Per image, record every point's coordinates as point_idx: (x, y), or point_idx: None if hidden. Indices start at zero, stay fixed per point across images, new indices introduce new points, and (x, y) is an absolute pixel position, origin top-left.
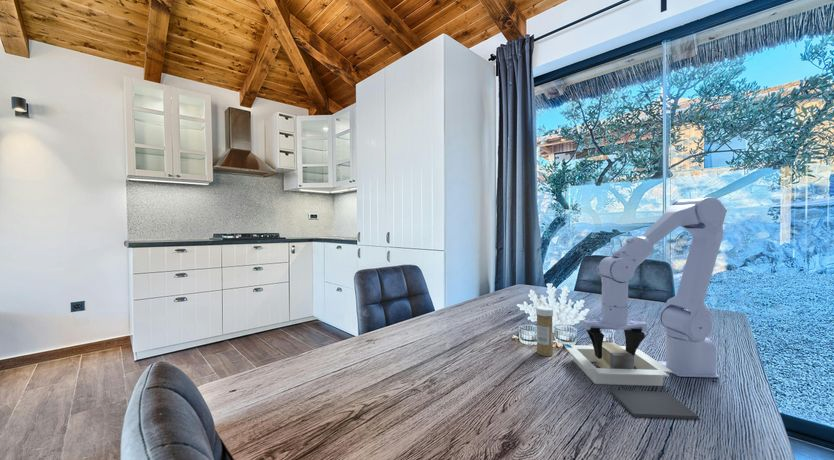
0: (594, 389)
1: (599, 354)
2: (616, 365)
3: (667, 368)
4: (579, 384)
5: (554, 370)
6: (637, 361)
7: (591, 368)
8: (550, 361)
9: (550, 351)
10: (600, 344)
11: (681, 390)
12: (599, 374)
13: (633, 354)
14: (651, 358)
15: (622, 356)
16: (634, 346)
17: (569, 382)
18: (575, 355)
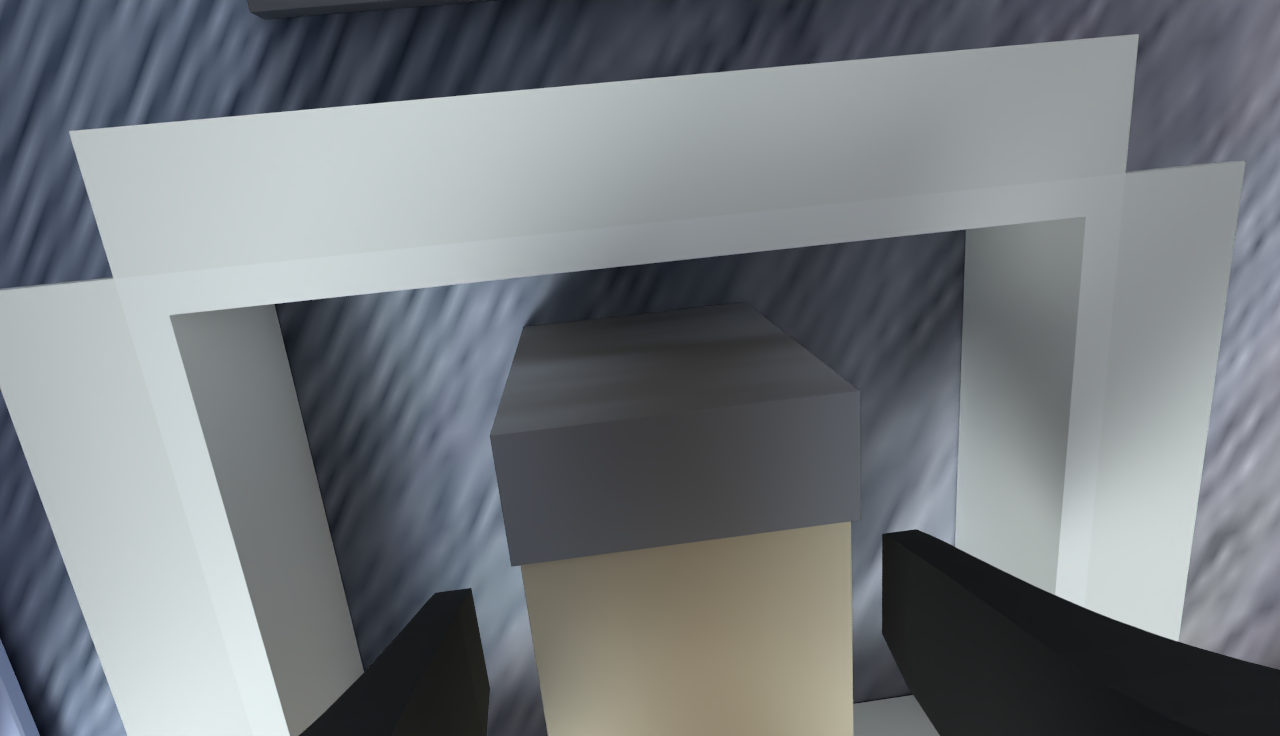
0: (1063, 31)
1: (953, 551)
2: (765, 347)
3: (9, 393)
4: (1169, 134)
5: (1271, 433)
6: None
7: (1161, 197)
8: (1211, 634)
9: None
10: (1080, 635)
11: (42, 168)
12: (1121, 36)
13: (420, 627)
14: (136, 706)
15: (702, 407)
16: (370, 726)
17: (1253, 167)
18: (1156, 598)
